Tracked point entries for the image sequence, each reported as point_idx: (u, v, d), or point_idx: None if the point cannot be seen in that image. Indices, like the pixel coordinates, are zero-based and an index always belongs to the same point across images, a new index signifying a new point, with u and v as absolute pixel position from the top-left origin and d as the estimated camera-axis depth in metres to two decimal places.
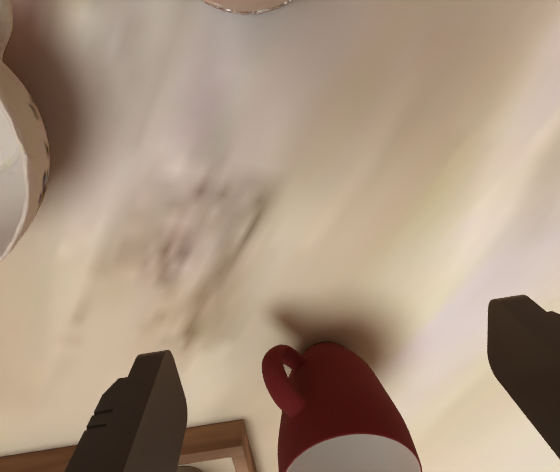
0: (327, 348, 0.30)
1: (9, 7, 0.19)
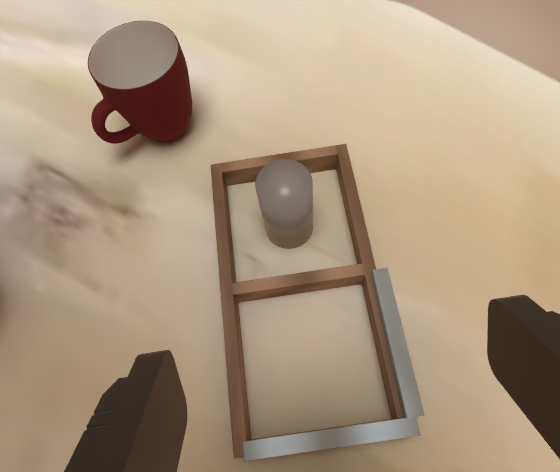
0: None
1: None
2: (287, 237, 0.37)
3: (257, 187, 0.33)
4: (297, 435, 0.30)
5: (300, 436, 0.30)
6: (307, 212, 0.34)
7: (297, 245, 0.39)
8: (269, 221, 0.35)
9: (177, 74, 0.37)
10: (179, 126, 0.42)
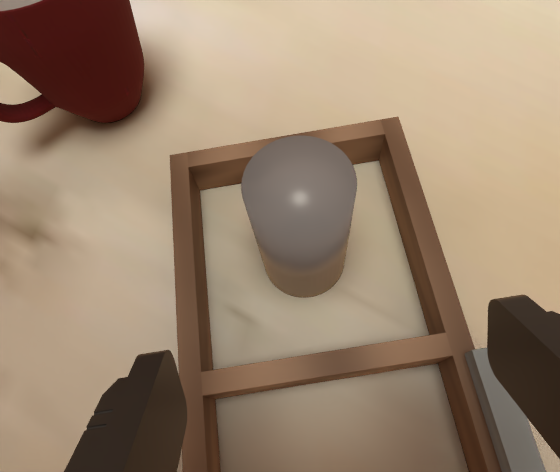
0: None
1: None
2: (304, 281, 0.20)
3: (245, 191, 0.16)
4: None
5: None
6: (343, 238, 0.18)
7: (319, 292, 0.22)
8: (270, 255, 0.18)
9: None
10: (120, 94, 0.25)
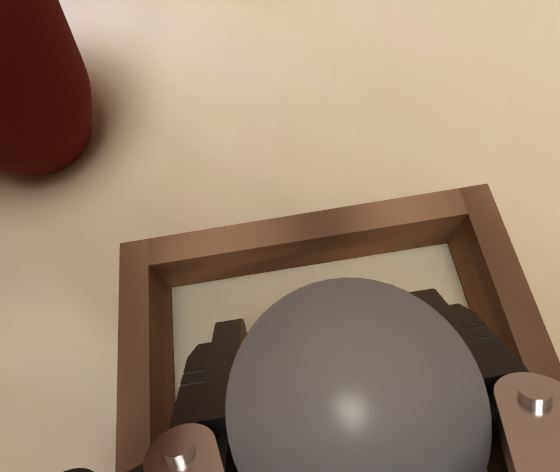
0: None
1: None
2: None
3: (234, 422, 0.07)
4: None
5: None
6: None
7: None
8: None
9: None
10: (48, 140, 0.16)
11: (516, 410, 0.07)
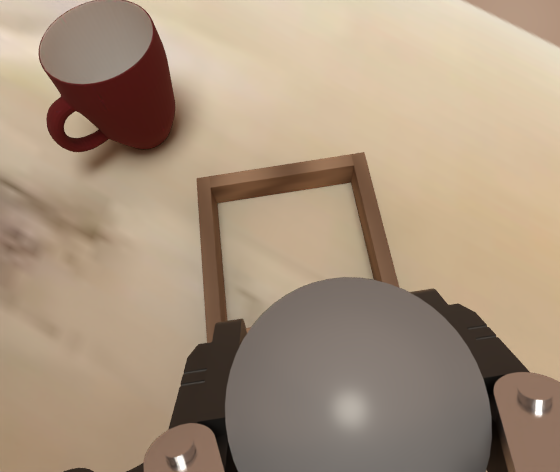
0: None
1: None
2: None
3: (234, 422, 0.07)
4: None
5: None
6: None
7: None
8: None
9: (152, 65, 0.29)
10: (158, 130, 0.34)
11: (516, 410, 0.07)
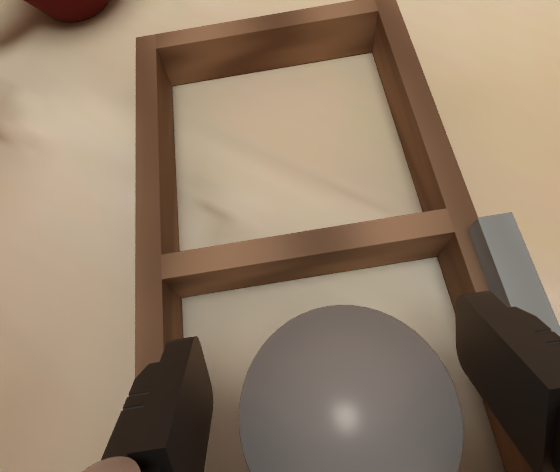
0: None
1: None
2: None
3: (246, 430, 0.08)
4: None
5: None
6: None
7: None
8: None
9: None
10: None
11: None
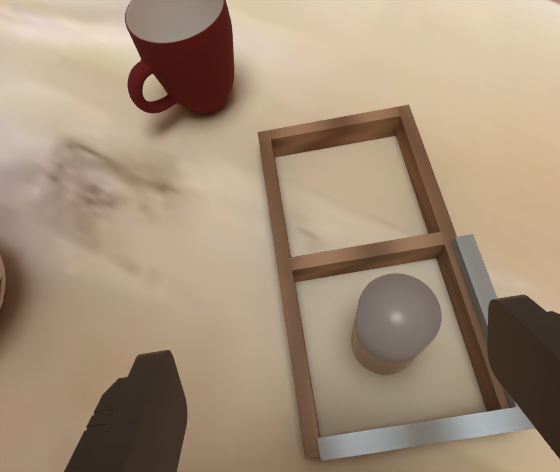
0: None
1: None
2: (391, 368, 0.27)
3: (361, 318, 0.23)
4: (383, 429, 0.25)
5: (386, 431, 0.25)
6: None
7: (398, 371, 0.29)
8: (371, 354, 0.25)
9: (223, 28, 0.33)
10: (221, 93, 0.38)
11: None
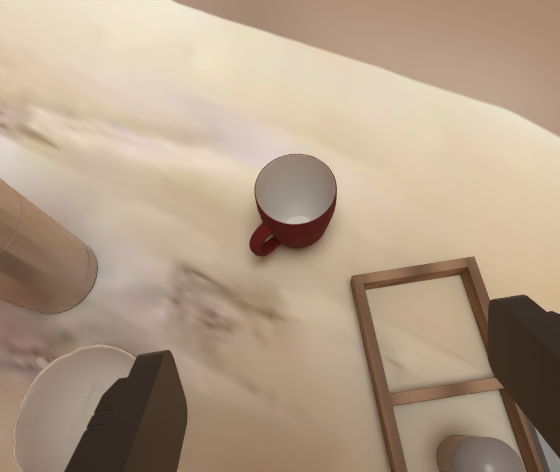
0: None
1: None
2: None
3: None
4: None
5: None
6: None
7: None
8: None
9: (334, 205, 0.41)
10: None
11: None
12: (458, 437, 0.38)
